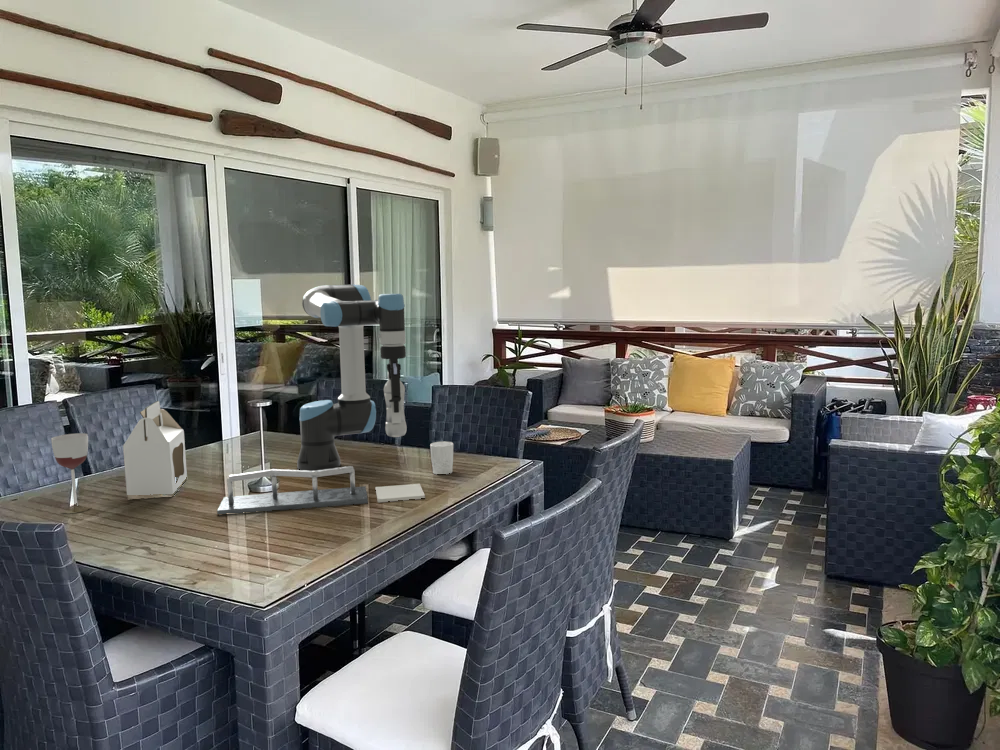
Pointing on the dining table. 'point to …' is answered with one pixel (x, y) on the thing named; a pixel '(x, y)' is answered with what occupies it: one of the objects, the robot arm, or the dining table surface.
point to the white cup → (442, 457)
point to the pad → (399, 492)
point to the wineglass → (70, 453)
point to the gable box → (155, 454)
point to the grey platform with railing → (292, 498)
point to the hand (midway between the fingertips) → (395, 420)
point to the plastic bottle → (390, 427)
